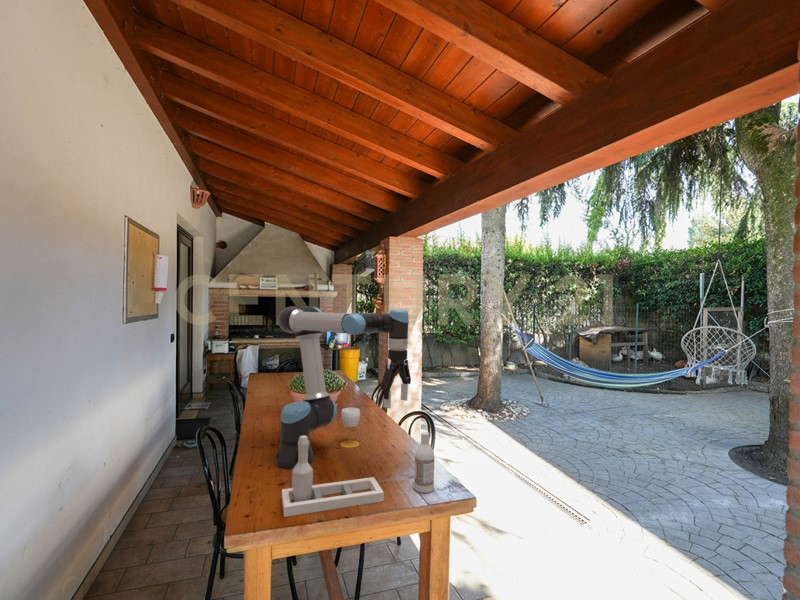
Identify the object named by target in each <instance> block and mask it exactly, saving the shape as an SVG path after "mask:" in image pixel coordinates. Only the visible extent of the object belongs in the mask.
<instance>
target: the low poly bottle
mask: <svg viewBox="0 0 800 600" xmlns="http://www.w3.org/2000/svg"><path fill="white" fill-rule="evenodd" d="M308 447H309V441H308V437H307V436H300V438H299V441H298V463H297V464H296V466H295V467H294V468H293V469H291V470H292V471H291V472H292V474H291V488H293V497H294V500H293V503H294V502H301V501H308V500H311V498H312V497H311V491H312V485H314V481H313V480H314V468H313V467H312V466H311V464H310V465H309V463H308Z"/></svg>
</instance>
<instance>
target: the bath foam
mask: <svg viewBox="0 0 800 600" xmlns="http://www.w3.org/2000/svg"><path fill="white" fill-rule="evenodd" d="M413 476H414V480H413V481H414V482H413V483H414V484H413V486H414V490H415V491H416V492H417V493H421V494H428V493H431V492H433V491H434V486H435V485H434V484H435V482H434V481H435V451H434V449H433V447H432V446H431V444H430V432H427V431H421V433H420V443H419V445H418V446H417V448H416V450H415V453H414V475H413Z"/></svg>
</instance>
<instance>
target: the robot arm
mask: <svg viewBox="0 0 800 600" xmlns="http://www.w3.org/2000/svg"><path fill="white" fill-rule="evenodd" d="M409 319H410V318H409V311H408V310H407V309H389V313H376V312H369V313H368V312H367V313H347V312H346V313H345V312H342V313H341V312H323V311H322V309H320V308H318V307H316V306H310V305H309V306H305V305H304V306H303V305H302V306H301V305H300V306H299V305H298V306H296V305H295V306H287V307H284V309H282V310H281V311H280V313H279V314H278V317H277V323H278V326H279V327H280V329H281V330H282V331H284V332H285V333H291V334H294V335H295V338H296V340H298V341H299V346H300V356H301V363H302V371H303V372H302V373H303V379H304V385H305V386H304V388H305V396H304V397H303V401H301V400H300V401H299V400H298V401H294V402H293V401H292V402H290V403H288V404H286V405H284V406H283V407H282V409H281V415H280V443H279V447H278V449H277V452H276V455H275V460H274V462H275V465H276V466H277V467H278V468H280V469H287V470H293V468H294V467H295V466H296V464H297V463H298V441H299V438H300V436H307V437H308V441H309V447H308V463H309V465H310V466H311V464H312V463H313V462H314V452H313V449H312V448H313V447H312V446H311V445H312V444H311V438H310V433H311V432H313V431H316V430H318V429H321V428H324V427H327V426H329V425H330V424H332V423H333V422H334V421H335V420H336V417H337V414H338V406H337V404H336V402H335V400H333V399H332V398H331V394H330V393H328V391H327V390H326V384H325V383H326V382H325V375H324V366H323V359H322V352H321V344H320V343H321V342H320V337H321V336H322V335H323V333H322V332H329V333H339V334H340V333H344V334H348V335H361V334H371V333H373V334H374V333H385V334H388V341H387V342H388V345H387V347H388V350H387V358H388V360H390V363H387V362H386V364H385V370H384V373H383V377H382V380H381V384H380V390H381V391H383V408H385V409H386V408H387V409H391V408H392V407H391V405H392V390H391V387H392V386H393V383H394V381H395V378H396V376H398V375H399V377H400V380H401V382H402V383H400V401H408V396H409V395H408V394H409V385H411V384H412V383H411V382H412V377H411V373H410V372H411V371H410V368H409V360H408V350H407V349H408V344H409V341H408V340H409V337H408V335H409V323H410V321H409Z"/></svg>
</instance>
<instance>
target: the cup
mask: <svg viewBox="0 0 800 600" xmlns="http://www.w3.org/2000/svg"><path fill="white" fill-rule="evenodd" d="M340 418H341V423H342V425H343V427H345V429H348V430H349V431H348V433H349V434H348V435H349V436H348V440H344V441H341V442H340V444H339V445H340V447H342V448H344V449H345V448H346V449H354V448H357V447H359V446H360V442H359V441H356V440H352V429H355V428H356V427H357V426H358V425H359V423H360V418H361V410H360V409H359V408H357V407H345V408H342V409H341V414H340Z"/></svg>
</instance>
